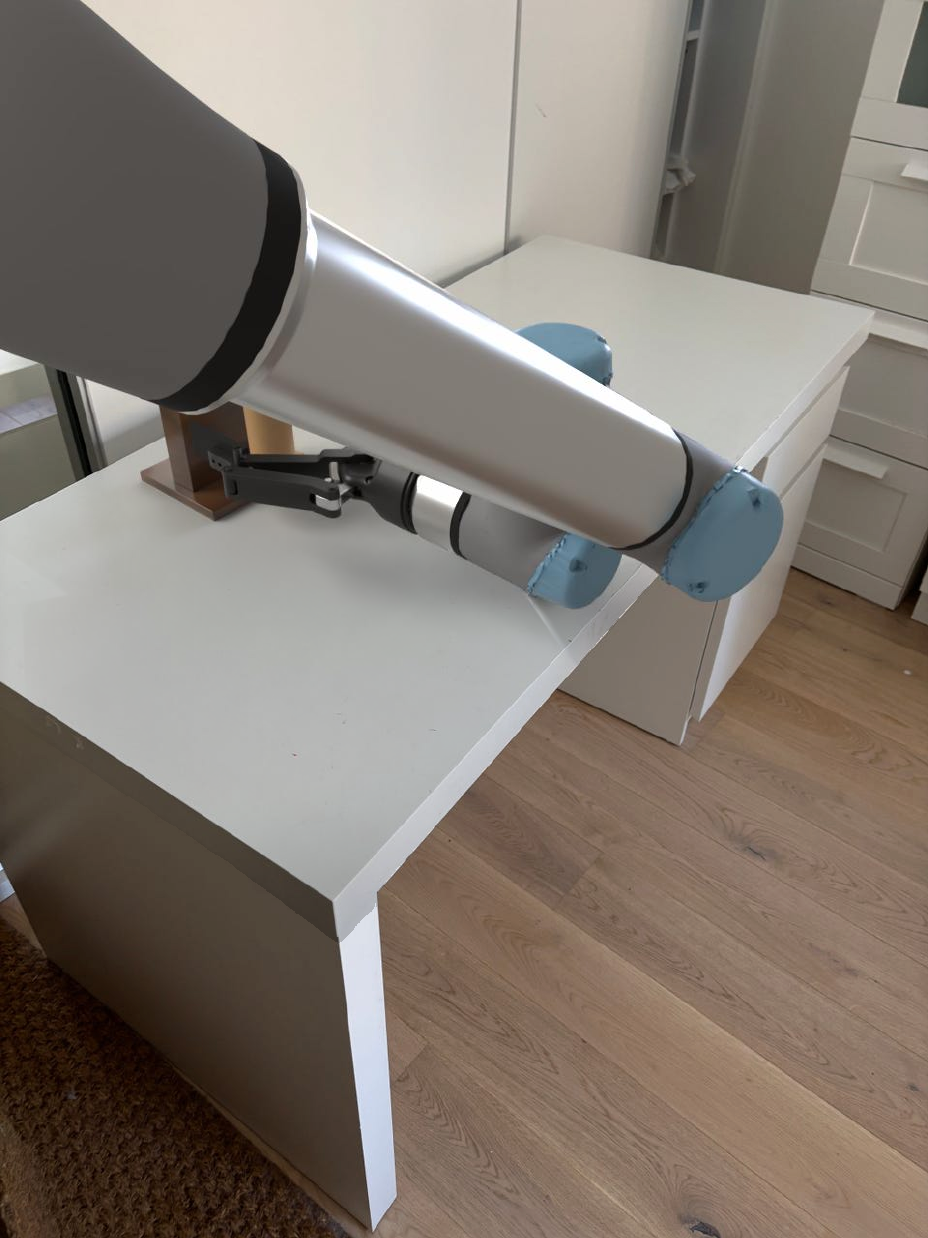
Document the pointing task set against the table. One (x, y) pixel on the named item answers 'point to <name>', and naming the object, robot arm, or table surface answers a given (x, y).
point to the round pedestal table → (268, 434)
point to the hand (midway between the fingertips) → (255, 408)
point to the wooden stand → (196, 460)
